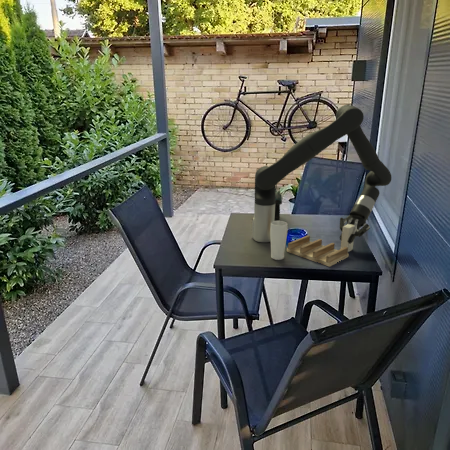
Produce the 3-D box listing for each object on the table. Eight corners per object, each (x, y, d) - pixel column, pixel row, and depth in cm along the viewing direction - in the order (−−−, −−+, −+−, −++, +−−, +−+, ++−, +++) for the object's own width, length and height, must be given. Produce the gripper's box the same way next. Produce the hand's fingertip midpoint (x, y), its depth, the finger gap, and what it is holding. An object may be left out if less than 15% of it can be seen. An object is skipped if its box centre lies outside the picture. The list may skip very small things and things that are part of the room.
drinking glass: (273, 262, 157) (274, 226, 152) (266, 255, 163) (267, 221, 158) (288, 260, 158) (290, 225, 154) (281, 253, 165) (283, 219, 160)
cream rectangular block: (340, 250, 168) (342, 226, 164) (346, 247, 171) (349, 223, 168) (346, 252, 166) (349, 228, 162) (352, 249, 169) (355, 225, 166)
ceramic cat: (281, 226, 198) (283, 187, 191) (268, 226, 198) (270, 187, 192) (277, 214, 217) (279, 179, 210) (265, 214, 217) (267, 179, 210)
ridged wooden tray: (286, 251, 167) (287, 242, 166) (306, 243, 176) (306, 234, 175) (329, 266, 152) (330, 257, 151) (348, 256, 162) (349, 247, 160)
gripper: (345, 200, 172) (327, 233, 168) (376, 206, 162) (357, 241, 158) (350, 209, 177) (333, 241, 173) (380, 216, 167) (362, 250, 163)
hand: (345, 241), depth 166 cm, fingers closed on cream rectangular block, 3 cm apart
